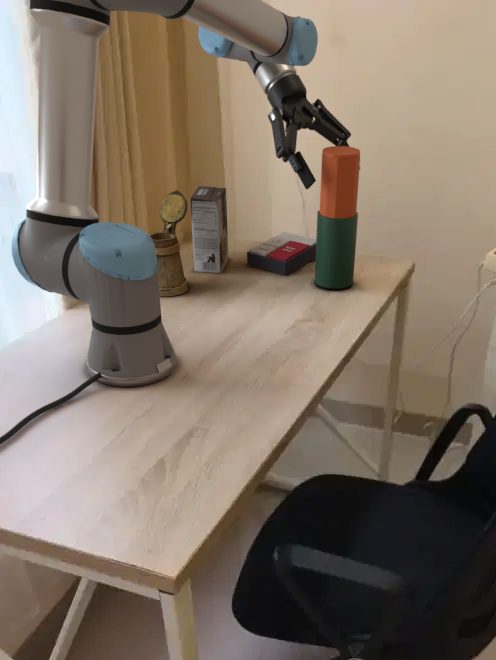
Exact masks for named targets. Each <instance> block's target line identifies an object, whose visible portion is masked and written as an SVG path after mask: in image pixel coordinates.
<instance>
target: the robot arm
mask: <svg viewBox="0 0 496 660" xmlns="http://www.w3.org/2000/svg"><path fill="white" fill-rule="evenodd" d="M111 12H136V13H148V14H152V15H157V16H161V17H162V18H164V19H167V20H171V21H174V20H175V21H176V20H179V19H181V18H182V19H185V20H186V21H189V22H190V23H192V24H194V25H196V26H198V41H199V43H200V46H201V48H202V49H203V51H204V52H205V53H207V54H208V55H211V56H214V57H215V58H217V59H219V58H222V59H223V58H224V59H229V60H236V61H239V62H245V63H246V64H247V65H248V67H249V68H250V70H251V72H252V74H253V75H254V77H255V79H256V80H257V82H258V84H259V86H260V87H261V89H262V91H263V93H264V95H266V98H267V100H268V102H269V104H270V106H271V108H272V109H271V110H270V111H269V113H268V115H267V119H268V121H269V122H270V125H271V130H272V136H273V143H274V145H273V146H274V150H275V157H276V158H277V159H281V160H282V162H283V163H287V162H288V163H289V165H290V166H291V169H292V170H293V172H294V173H295V174H296V175H297V176H298V178H299V179H300V182H301V183H302V185H303V187H304V189H305V190H309V189H310V188H311V187H312V186H313V185H314V184H315V182H316V181H317V179H316V178H315V176H314V174H313V172H312V170H311V169H310V167H309V165H308V163H307V161H306V160H305V157H304V156H303V154H302V152H301V151H300V150H299V151H297V140H298V131H300V130H309V131H315V132H316V133H317V134H318V135H320V136H322V137H323V138H324V139H326V140H327V141H328V142H329V143H331V144H333V145H334V146H347V147H351V146H350V145H349V143H348V140H349V139H350V138H351V136H352V132H351V131H350V130H349V129H348V128H346V127H345V125H343V124H342V122H340V120H339V119H338V118H336V117H335V115H333V113H331V112H330V110H329V109H327V107H326V106H325V105H324V103H323V101H322V100H321V99H320V98H317V99H316V100H315V101H314V102H312V103H311V101H309V100H308V97H307V88H306V86H305V84H304V83H303V81H302V79H301V77H300V75H299V74H298V73H297V69H296V67H305V66H308V65H310V64H311V63H312V61H313V60H314V59H315V56H316V53H317V48H318V43H319V35H318V29H317V26H316V25H315V23H314V21H313V20H311V19H310V18H306V17H301V16H299V15H296V16H290V15H288V14H286V13H284V12H282V11H281V10H280V9H277V8H275V7H273V6H272V5H270V4H269V3H267V2H265V1H263V0H29V14H30V15H31V17H33V19H34V20H35V22H36V23H37V24H38V27H39V32H40V33H39V64H38V65H39V67H38V69H39V70H38V107H37V108H38V110H37V112H38V113H37V115H38V116H37V152H36V153H37V154H36V156H37V157H36V196H35V197H34V198H33V199H32V200H31V201H30V202H28V204H27V205H26V207H25V208H26V211H25V213H26V214H25V216H26V217H24V218H22V219H21V220H20V221H19V222H18V223H17V228H14V229H13V231H12V235H11V239H10V252H11V257H12V260H13V261H12V262H13V264H14V266H15V268H16V270H17V272H18V273H19V275H21V276H22V278H23V279H24V280H25V281H27V283H28V284H29V283H30V284H31V285H33V286H35V287H38V288H40V289H41V290H42V291H46V292H48V293H55V294H58V295H62V296H65V297H67V298H71V299H74V300H78V301H79V302H80V301H81V302H84V303H86V304H88V307H89V315H90V321H91V326H92V327H91V334H90V340H89V345H88V350H87V356H86V366H87V371H88V374H89V375H90V378H88V379H87V380H85V381H84V382H83V383H81V384H80V385H79V386H77V387H75V389H73V390H71V392H68V394H66V395H65V396H62V397H60V398H58V399H56V400H54V401H52V402H50V403H48V404H44V405H43V406H41V407H39V408H38V409H36V410H34V411H33V412H31V413H30V414H28V415H26V416H25V417H24V418H22V419H21V420H20V421H19V422H18V423H16V424H15V425H14V426H13V427H12V428H11V429H10V430H8V431H7V432H5V433H4V434H3V435H2V436H0V445H2V444H3V443H4V442H7V441H8V440H9V439H10V438H12V437H13V436H14V435H15V434H17V433H18V432H19V431H20V430H21V429H22V428H24V427H25V426H26V425H28V424H29V423H30V422H31V421H32V420H34V419H36V418H37V417H39V416H40V415H42V414H44V413H46V412H48V411H50V410H52V409H54V408H56V407H59V406H61V405H62V404H65V403H67V402H68V401H70V400H71V399H73V398H75V397H77V395H79V394H80V393H82V392H83V391H84V390H85V389H87V388H88V387H89V386H91V385H92V384H93V383H95V382H96V381H97V382H99V383H102V384H103V385H104V384H105V385H107V386H114V387H125V388H127V387H139V386H146V385H150V384H153V383H156V382H159V381H161V380H163V379H165V378H167V377H168V376H170V375H171V374H172V373H173V372H174V370H175V369H176V366H177V358H176V357H177V356H176V351H175V348H174V346H173V345H172V342H171V340H170V338H169V335H168V333H167V331H166V329H165V326H164V325H163V324H164V323H163V320H162V307H161V296H160V293H159V279H158V263H157V257H156V255H155V248H154V243H153V241H152V239H151V237H150V236H149V234H148V232H146V231H145V230H144V229H141V228H140V227H138V226H135V225H132V224H129V223H124V222H117V223H116V222H115V223H114V222H113V221H102V222H101V221H99V220H100V216H99V214H98V213H97V211H96V210H95V209H94V208H93V207H92V206H93V205H92V204H91V197H92V178H93V176H92V174H93V157H94V156H93V155H94V138H95V137H94V136H95V120H96V119H95V118H96V100H97V99H96V95H97V78H98V59H99V58H98V57H99V41H100V39H101V38H102V37H103V36H104V35H105V34H106V33H107V32H109V30H110V24H111ZM360 170H361V166H360V167H359V171H360Z"/></svg>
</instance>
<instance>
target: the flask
mask: <svg viewBox="0 0 496 660" xmlns="http://www.w3.org/2000/svg"><path fill="white" fill-rule="evenodd" d="M358 220H359V212H358V211H356V215H354V216H353V217H350V218H344V219H342V218H329V217H325V216H323V215H321V214H320V209H319V210H318V211H317V213H316V238H315V239H316V260H314V262H315V263H314V280H313V284H314V286H315V287H316V288H318V289H320V290H324V291H328V292H342V291H346V290H350V289H352V288H353V287H354V282H355V281H354V275H355V263H356V261H355V260H356V249H357V235H358V234H357V233H358Z"/></svg>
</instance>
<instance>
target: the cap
mask: <svg viewBox="0 0 496 660" xmlns="http://www.w3.org/2000/svg"><path fill="white" fill-rule="evenodd" d="M360 165H361V150H360V149H359V148H356V147H353V146H350V147H347V146H335V145H334V146H333V145H332V146H327V147H324V148H323V149H322V152H321V168H320V170H321V171H320V190H319V191H320V193H319V210H320V214H321V215H323V216H325V217H329V218H342V219H344V218H350V217H353V216H354V215H356V212H357V209H358V207H357V206H358V193H359V181H360V179H359V178H360V170H359V167H360V168H361V166H360Z"/></svg>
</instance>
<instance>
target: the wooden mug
mask: <svg viewBox="0 0 496 660" xmlns="http://www.w3.org/2000/svg"><path fill="white" fill-rule="evenodd" d="M187 212H188V201H187V198H186V197H185V196H184V195H183V193H182V192H180V191H179V189H176V190H173V191H171V192H169V193H168V194H167V195H165V196H164V197H163V198H162V200H161V202H160V206H159V216H160V218H161V220H162V222H163V223H164V224H163V229H162V231H161V232H159V231H158V232H152V233H149V234H148V235H149V236H150V237H151V239H152V241H153V243H154V248H155V255H156V257H157V263H158V279H159V293H160V297H174V296H178V295H182V294H184V293H185V292H187V290H188V289H189V288H188V281H187V278H186V277H185V272H184V271H185V270H184V267H183V261H182V256H181V251H180V250H181V245H180V241H179V240H178V236H177V235H176V229H177V224H178V223H180V222H181V221H182V220H183V219H184V218H185V217H186V214H187Z"/></svg>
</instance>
